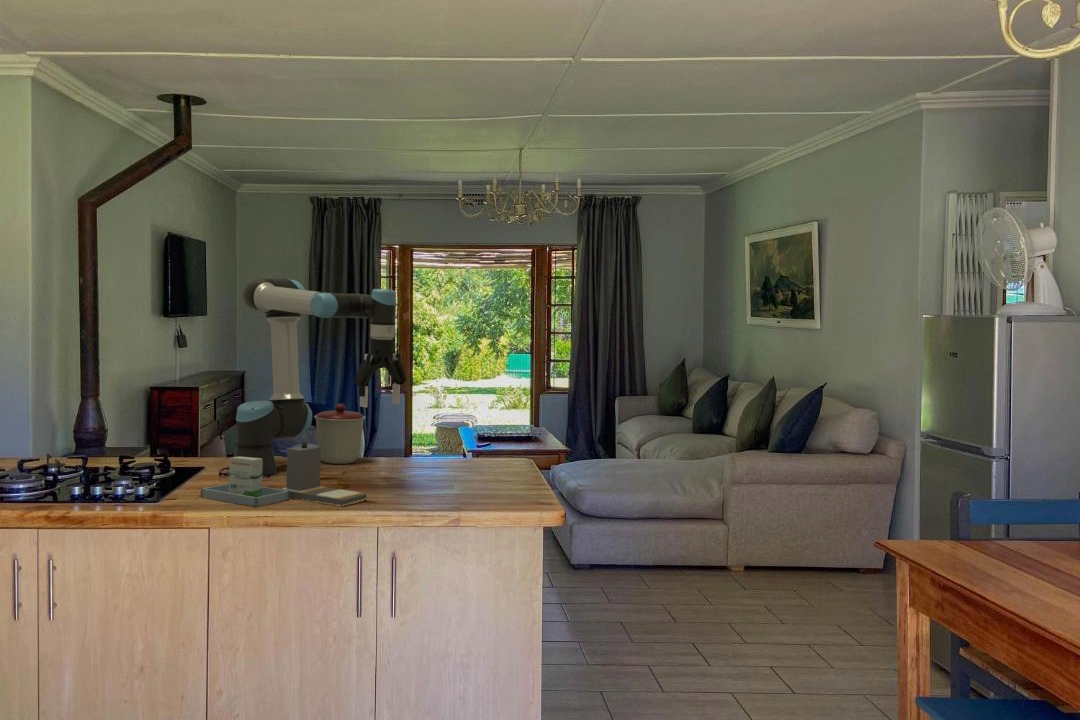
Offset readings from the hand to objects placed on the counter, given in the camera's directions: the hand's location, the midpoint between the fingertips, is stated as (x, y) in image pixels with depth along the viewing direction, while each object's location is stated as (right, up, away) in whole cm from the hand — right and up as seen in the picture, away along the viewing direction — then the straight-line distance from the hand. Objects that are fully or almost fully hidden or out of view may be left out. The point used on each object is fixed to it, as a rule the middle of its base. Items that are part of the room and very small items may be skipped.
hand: (379, 405), depth 324 cm
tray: (-36, -26, -24) cm, 50 cm away
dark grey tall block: (-20, -24, -16) cm, 35 cm away
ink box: (-36, -26, -24) cm, 50 cm away
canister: (-22, -22, +45) cm, 55 cm away
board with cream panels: (-14, -27, -20) cm, 36 cm away
